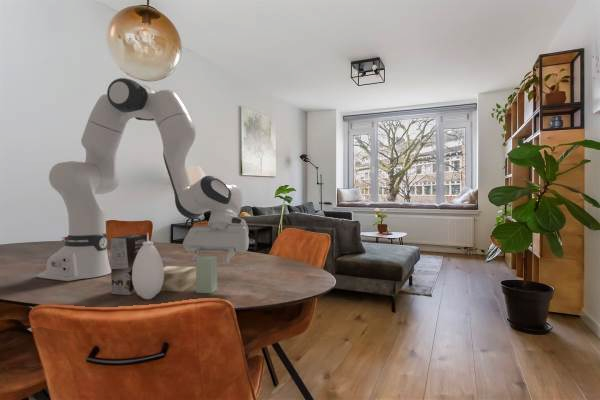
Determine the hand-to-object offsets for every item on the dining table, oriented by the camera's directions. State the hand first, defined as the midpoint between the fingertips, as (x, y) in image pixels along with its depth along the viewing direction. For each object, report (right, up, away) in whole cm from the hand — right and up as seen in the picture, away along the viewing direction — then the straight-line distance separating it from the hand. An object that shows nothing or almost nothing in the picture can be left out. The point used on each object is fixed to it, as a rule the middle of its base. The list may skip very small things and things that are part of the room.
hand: (210, 261), depth 104 cm
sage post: (-1, -8, -2) cm, 8 cm away
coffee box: (-23, -8, -2) cm, 24 cm away
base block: (-12, -8, +3) cm, 15 cm away
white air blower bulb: (-14, -8, -9) cm, 19 cm away
